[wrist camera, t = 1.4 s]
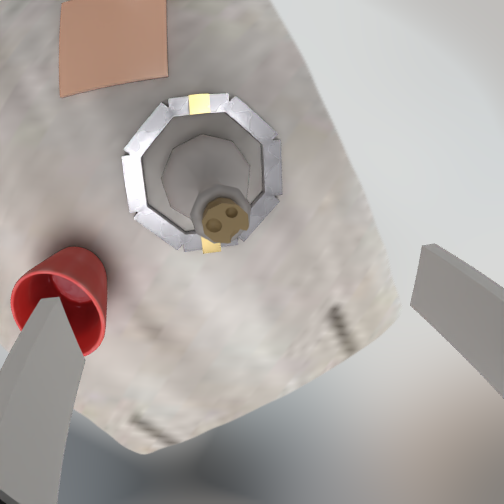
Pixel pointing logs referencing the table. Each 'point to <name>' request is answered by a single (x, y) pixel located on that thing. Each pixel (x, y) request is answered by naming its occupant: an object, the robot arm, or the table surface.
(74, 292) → the flower pot
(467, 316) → the robot arm
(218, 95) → the collar
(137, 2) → the coaster
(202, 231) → the potion bottle
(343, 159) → the table surface
